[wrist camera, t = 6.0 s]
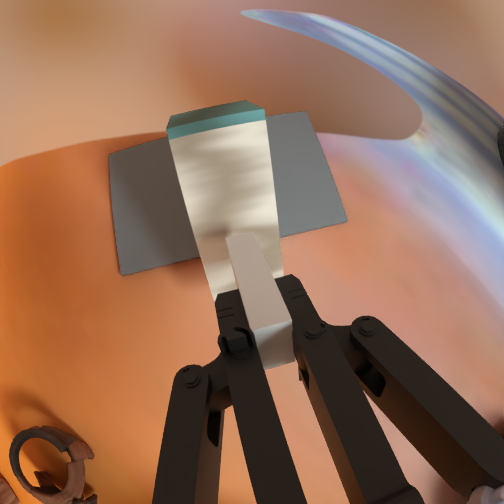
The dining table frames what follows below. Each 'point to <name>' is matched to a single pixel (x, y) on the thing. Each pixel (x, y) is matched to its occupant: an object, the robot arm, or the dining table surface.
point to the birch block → (226, 184)
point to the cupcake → (7, 493)
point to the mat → (173, 205)
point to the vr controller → (53, 498)
